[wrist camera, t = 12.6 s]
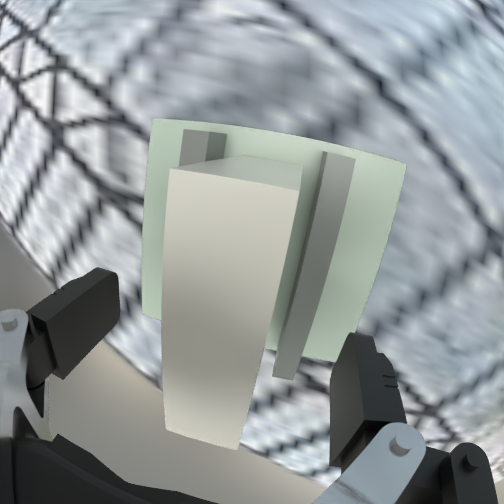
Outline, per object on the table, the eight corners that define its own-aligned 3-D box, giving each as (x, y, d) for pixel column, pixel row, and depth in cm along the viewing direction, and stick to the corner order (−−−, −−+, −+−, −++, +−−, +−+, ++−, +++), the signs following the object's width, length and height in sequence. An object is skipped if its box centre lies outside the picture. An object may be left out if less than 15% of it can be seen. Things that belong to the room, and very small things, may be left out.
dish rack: (398, 162, 15) (428, 168, 11) (340, 349, 20) (344, 395, 15) (164, 119, 16) (124, 115, 12) (151, 304, 21) (121, 338, 17)
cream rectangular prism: (302, 166, 15) (299, 191, 6) (267, 329, 18) (236, 450, 10) (245, 155, 15) (169, 168, 7) (220, 318, 19) (165, 429, 10)
